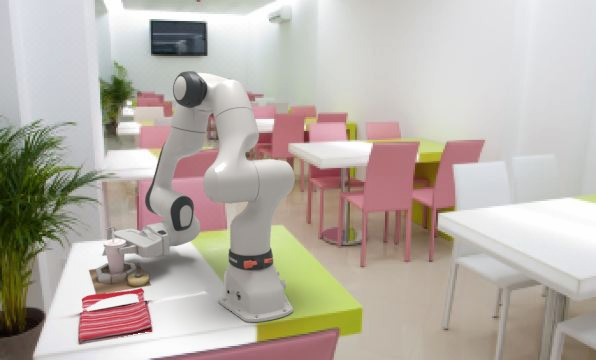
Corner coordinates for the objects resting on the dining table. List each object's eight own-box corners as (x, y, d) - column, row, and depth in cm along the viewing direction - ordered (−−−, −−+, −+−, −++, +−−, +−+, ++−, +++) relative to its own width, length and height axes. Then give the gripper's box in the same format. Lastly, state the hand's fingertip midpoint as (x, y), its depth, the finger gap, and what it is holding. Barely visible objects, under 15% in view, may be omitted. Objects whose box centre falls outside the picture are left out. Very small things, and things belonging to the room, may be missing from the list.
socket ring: (138, 279, 151) (138, 272, 151) (99, 286, 146) (99, 278, 146) (132, 267, 161) (132, 259, 160) (95, 273, 156) (94, 265, 155)
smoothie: (100, 274, 151) (97, 229, 149) (115, 267, 157) (112, 223, 154) (117, 278, 149) (115, 232, 146) (132, 270, 155) (130, 226, 152)
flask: (117, 260, 169) (115, 231, 167) (97, 258, 171) (95, 230, 169) (128, 253, 176) (126, 225, 174) (109, 251, 178) (107, 224, 176)
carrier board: (151, 289, 148) (151, 276, 147) (96, 298, 141) (95, 285, 140) (138, 266, 165) (138, 254, 164) (89, 273, 158) (88, 261, 157)
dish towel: (145, 295, 145) (145, 286, 145) (154, 334, 124) (153, 324, 123) (80, 303, 139) (79, 294, 138) (78, 346, 117) (77, 336, 117)
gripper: (135, 221, 167) (95, 230, 157) (171, 235, 154) (129, 246, 144) (136, 239, 168) (96, 250, 159) (171, 255, 155) (130, 267, 145)
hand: (112, 248), depth 151 cm, fingers closed on smoothie, 6 cm apart
